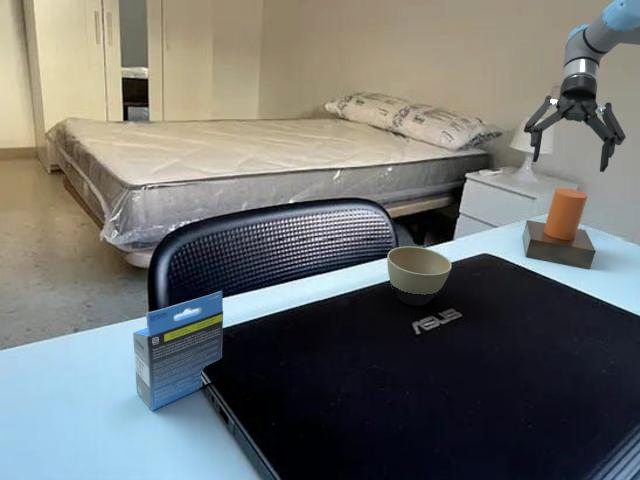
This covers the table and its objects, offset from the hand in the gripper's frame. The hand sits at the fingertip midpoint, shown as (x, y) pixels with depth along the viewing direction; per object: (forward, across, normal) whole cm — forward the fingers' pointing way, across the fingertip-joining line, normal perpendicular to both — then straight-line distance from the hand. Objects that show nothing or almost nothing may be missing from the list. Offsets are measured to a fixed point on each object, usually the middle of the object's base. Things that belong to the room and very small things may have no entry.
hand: (569, 163), depth 107 cm
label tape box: (+66, +47, +43) cm, 92 cm away
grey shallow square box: (+19, 0, -5) cm, 20 cm away
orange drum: (+16, 0, -2) cm, 16 cm away
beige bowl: (+43, +25, +19) cm, 54 cm away
